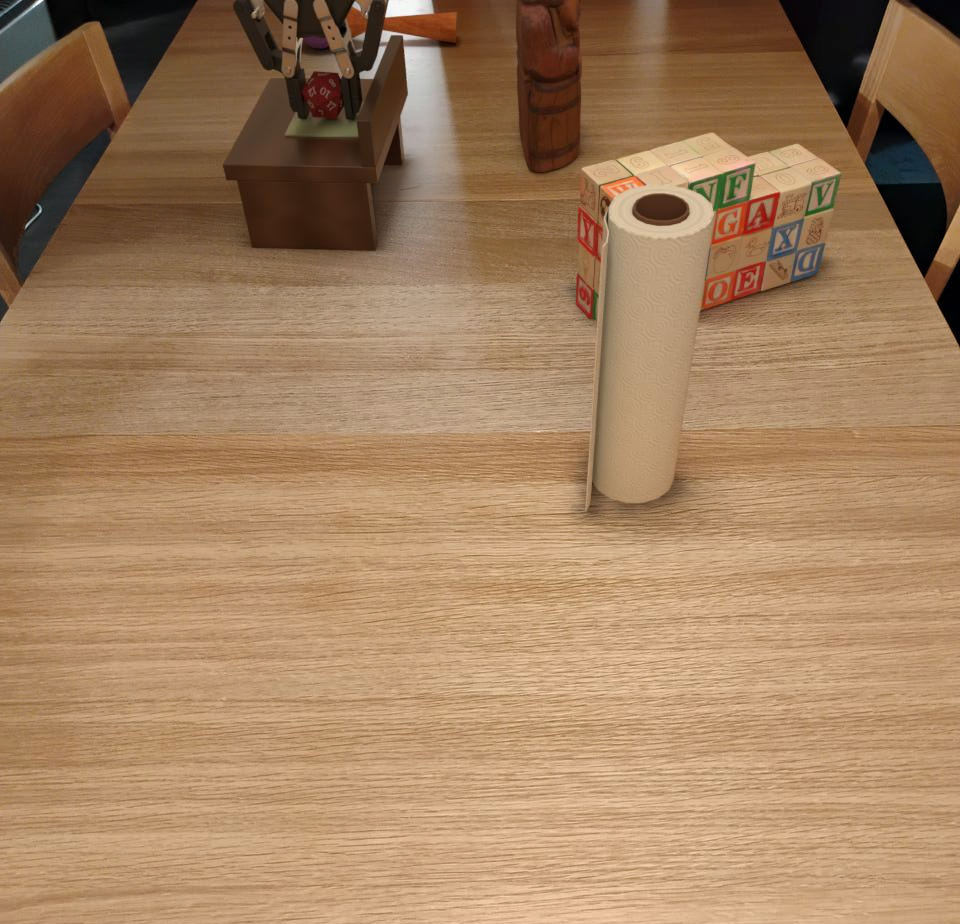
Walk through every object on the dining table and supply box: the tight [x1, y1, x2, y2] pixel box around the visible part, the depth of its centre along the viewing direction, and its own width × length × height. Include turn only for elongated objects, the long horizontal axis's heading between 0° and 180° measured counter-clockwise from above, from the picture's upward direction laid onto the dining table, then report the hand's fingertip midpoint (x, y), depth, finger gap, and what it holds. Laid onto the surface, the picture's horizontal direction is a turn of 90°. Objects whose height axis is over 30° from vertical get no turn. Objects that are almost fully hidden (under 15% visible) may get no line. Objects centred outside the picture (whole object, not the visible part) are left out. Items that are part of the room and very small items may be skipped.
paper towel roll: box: [584, 185, 714, 512], centre depth 65 cm, size 7×6×21 cm
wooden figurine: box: [515, 0, 583, 173], centre depth 99 cm, size 12×6×18 cm, turn 3°
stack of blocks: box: [575, 132, 842, 320], centre depth 84 cm, size 21×6×12 cm, turn 114°
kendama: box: [302, 6, 458, 50], centre depth 123 cm, size 6×6×20 cm
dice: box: [302, 70, 344, 119], centre depth 93 cm, size 4×4×4 cm
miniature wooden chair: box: [222, 34, 409, 251], centre depth 96 cm, size 14×18×12 cm
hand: (327, 114), depth 94 cm, fingers closed on dice, 4 cm apart
